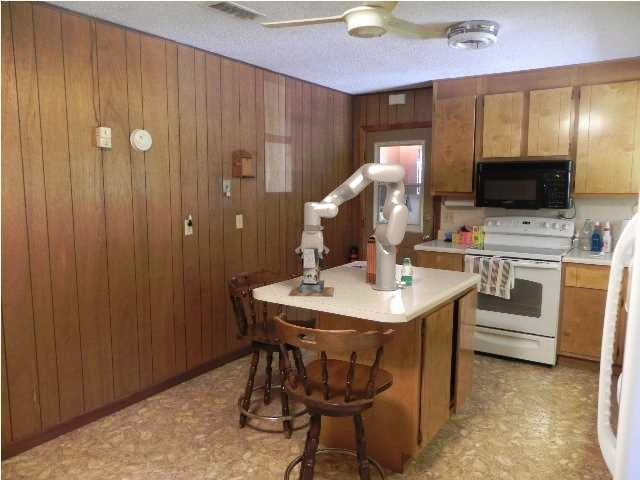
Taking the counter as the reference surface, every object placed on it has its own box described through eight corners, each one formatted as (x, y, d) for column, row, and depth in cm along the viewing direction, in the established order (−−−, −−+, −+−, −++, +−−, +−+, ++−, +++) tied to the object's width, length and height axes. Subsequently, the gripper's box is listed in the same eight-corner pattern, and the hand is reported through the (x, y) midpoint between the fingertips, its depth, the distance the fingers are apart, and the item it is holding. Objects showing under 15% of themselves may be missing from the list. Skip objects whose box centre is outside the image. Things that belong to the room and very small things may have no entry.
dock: (334, 289, 238) (334, 280, 238) (333, 296, 223) (333, 286, 223) (293, 289, 240) (292, 279, 239) (289, 295, 225) (289, 285, 224)
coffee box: (316, 283, 226) (316, 249, 224) (303, 283, 227) (303, 248, 225) (320, 280, 235) (320, 246, 233) (307, 279, 236) (307, 246, 234)
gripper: (331, 228, 231) (331, 265, 233) (294, 227, 233) (294, 265, 234) (330, 229, 224) (330, 268, 226) (292, 229, 225) (292, 267, 227)
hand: (312, 266), depth 230 cm, fingers closed on coffee box, 6 cm apart
